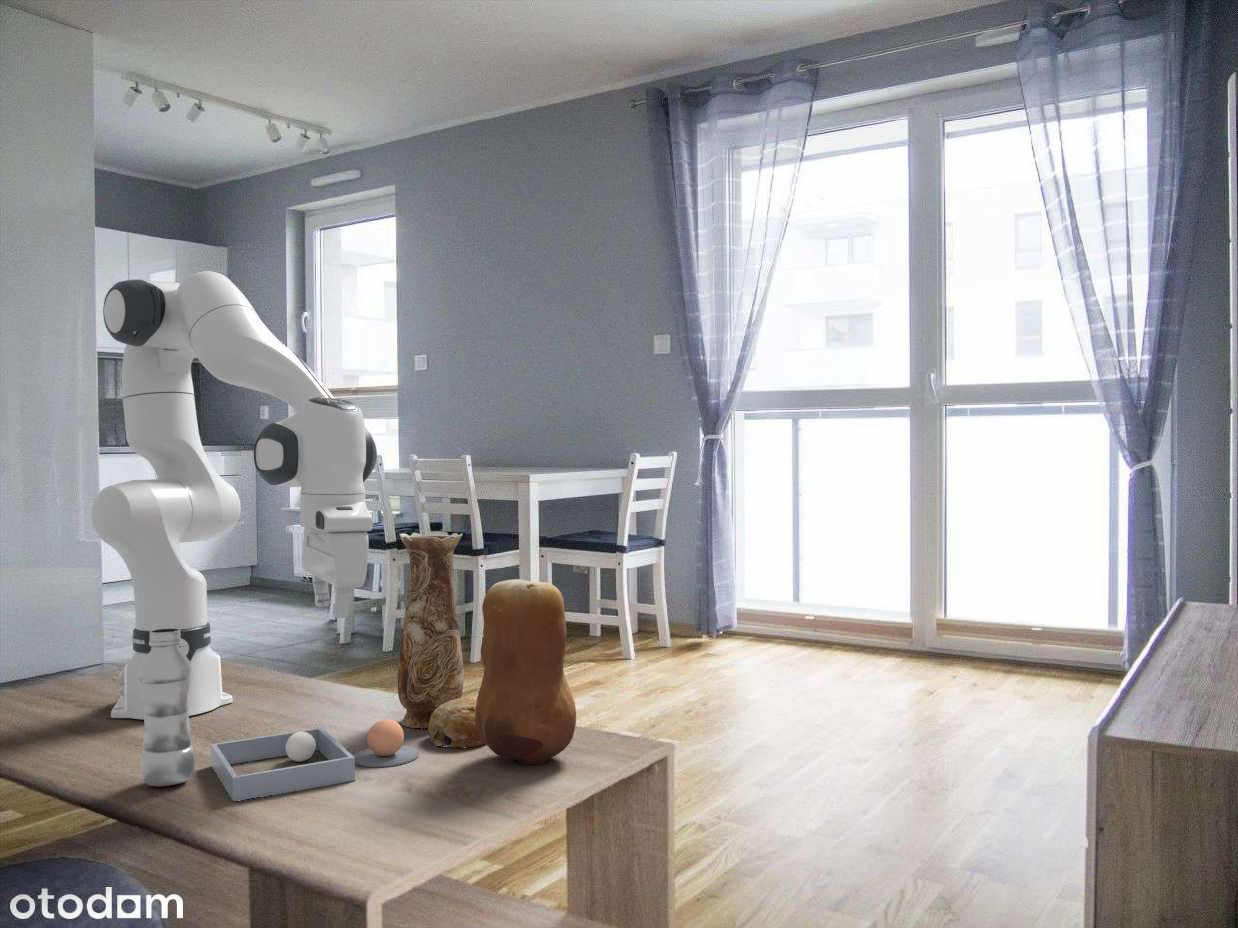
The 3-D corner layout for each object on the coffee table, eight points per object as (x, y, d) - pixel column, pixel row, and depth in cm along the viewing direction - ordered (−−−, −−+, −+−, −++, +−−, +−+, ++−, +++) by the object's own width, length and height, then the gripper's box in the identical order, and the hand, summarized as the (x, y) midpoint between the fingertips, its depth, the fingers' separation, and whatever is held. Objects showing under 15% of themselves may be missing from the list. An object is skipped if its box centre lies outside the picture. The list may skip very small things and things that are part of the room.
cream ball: (283, 759, 138) (282, 731, 138) (312, 755, 140) (311, 727, 140) (289, 767, 135) (288, 738, 135) (319, 762, 137) (318, 733, 137)
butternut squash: (573, 743, 144) (570, 572, 144) (580, 772, 131) (577, 583, 131) (476, 748, 143) (474, 574, 142) (474, 778, 129) (471, 587, 129)
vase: (433, 710, 164) (430, 530, 164) (479, 719, 158) (476, 532, 158) (384, 724, 156) (380, 534, 156) (430, 735, 150) (427, 537, 149)
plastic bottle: (160, 796, 124) (157, 636, 124) (129, 787, 128) (126, 632, 128) (206, 781, 130) (203, 628, 129) (174, 773, 133) (172, 624, 133)
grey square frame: (211, 766, 136) (210, 744, 136) (321, 748, 144) (321, 727, 144) (233, 802, 121) (233, 778, 121) (355, 780, 129) (354, 757, 129)
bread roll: (422, 767, 146) (409, 724, 143) (453, 721, 155) (441, 679, 152) (482, 773, 143) (470, 729, 140) (510, 726, 152) (499, 684, 148)
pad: (345, 754, 140) (345, 752, 140) (406, 744, 145) (406, 742, 145) (363, 771, 133) (363, 769, 133) (427, 760, 137) (427, 758, 137)
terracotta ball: (362, 752, 140) (362, 717, 139) (397, 747, 142) (397, 712, 142) (373, 763, 135) (373, 727, 135) (408, 757, 138) (408, 722, 138)
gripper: (292, 508, 146) (290, 601, 147) (329, 520, 129) (327, 625, 129) (334, 507, 150) (333, 598, 150) (376, 519, 132) (375, 622, 133)
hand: (331, 611), depth 140 cm, fingers open, 8 cm apart
